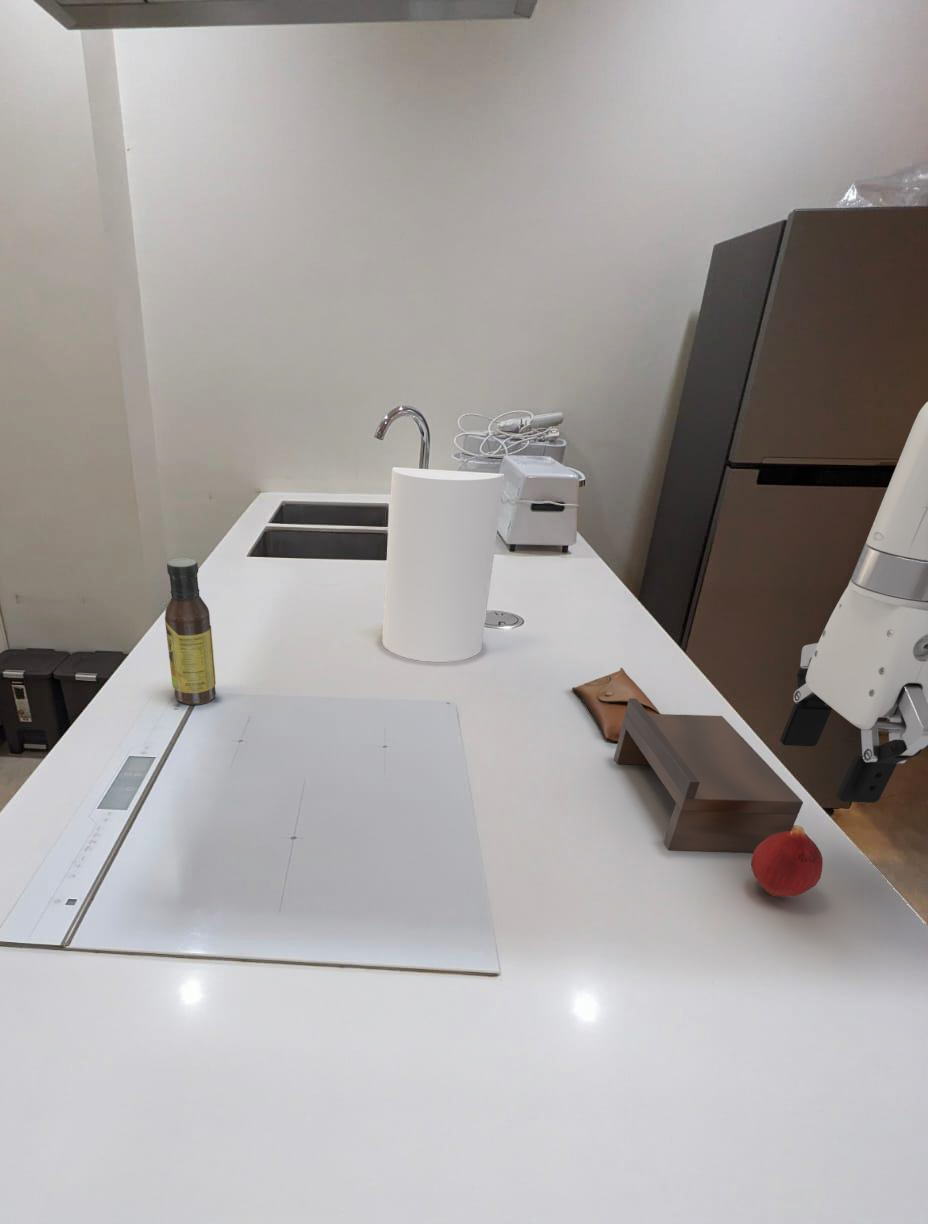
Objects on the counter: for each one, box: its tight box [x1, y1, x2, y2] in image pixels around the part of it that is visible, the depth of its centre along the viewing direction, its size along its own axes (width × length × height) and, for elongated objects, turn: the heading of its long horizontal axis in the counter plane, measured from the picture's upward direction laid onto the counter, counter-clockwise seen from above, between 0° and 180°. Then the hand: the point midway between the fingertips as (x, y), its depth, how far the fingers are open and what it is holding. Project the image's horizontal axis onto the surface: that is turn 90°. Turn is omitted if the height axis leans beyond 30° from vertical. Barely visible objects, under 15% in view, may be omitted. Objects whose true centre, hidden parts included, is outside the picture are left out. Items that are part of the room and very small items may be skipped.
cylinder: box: [381, 466, 506, 663], centre depth 123 cm, size 17×17×28 cm
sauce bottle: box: [164, 557, 217, 706], centre depth 105 cm, size 6×6×20 cm
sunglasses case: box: [571, 667, 661, 743], centre depth 107 cm, size 18×7×7 cm
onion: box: [750, 824, 824, 898], centre depth 72 cm, size 6×6×8 cm
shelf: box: [613, 698, 804, 853], centre depth 86 cm, size 12×20×8 cm, turn 178°
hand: (824, 770), depth 66 cm, fingers open, 9 cm apart
